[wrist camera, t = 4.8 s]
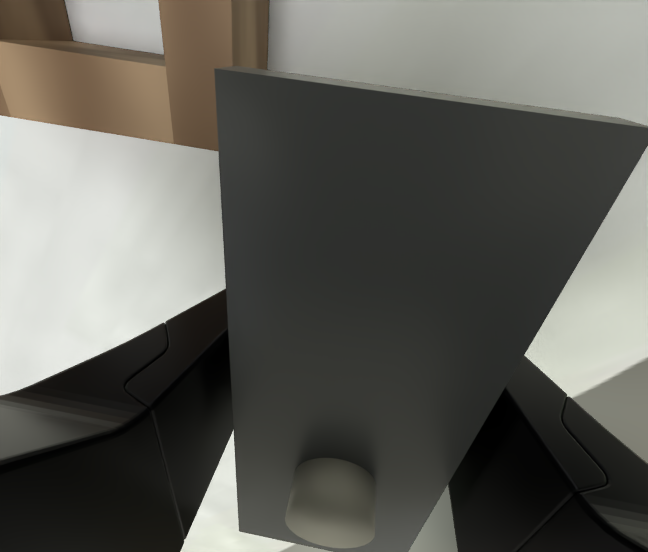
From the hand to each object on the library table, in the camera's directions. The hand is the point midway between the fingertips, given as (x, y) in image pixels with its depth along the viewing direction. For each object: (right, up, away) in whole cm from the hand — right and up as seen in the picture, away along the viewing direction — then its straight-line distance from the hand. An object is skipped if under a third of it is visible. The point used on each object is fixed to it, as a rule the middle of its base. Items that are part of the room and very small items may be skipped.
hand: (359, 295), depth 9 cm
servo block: (0, +1, +1) cm, 1 cm away
